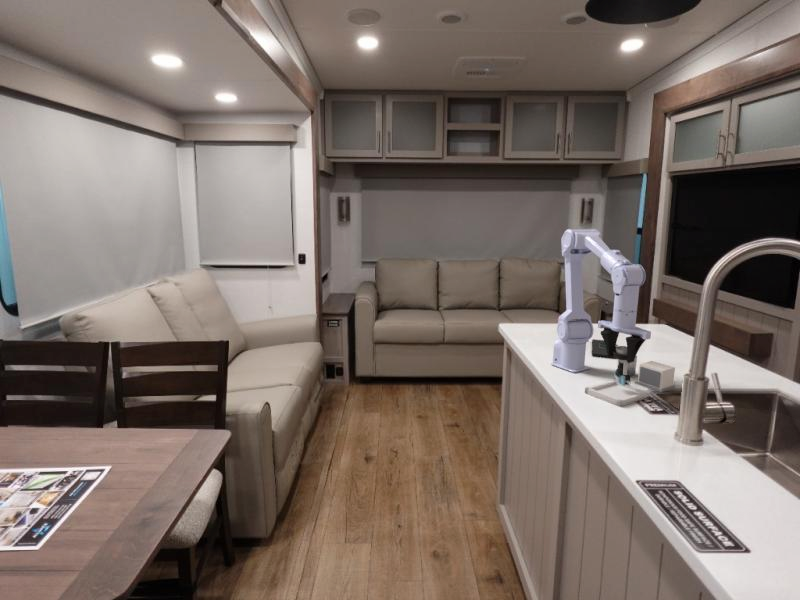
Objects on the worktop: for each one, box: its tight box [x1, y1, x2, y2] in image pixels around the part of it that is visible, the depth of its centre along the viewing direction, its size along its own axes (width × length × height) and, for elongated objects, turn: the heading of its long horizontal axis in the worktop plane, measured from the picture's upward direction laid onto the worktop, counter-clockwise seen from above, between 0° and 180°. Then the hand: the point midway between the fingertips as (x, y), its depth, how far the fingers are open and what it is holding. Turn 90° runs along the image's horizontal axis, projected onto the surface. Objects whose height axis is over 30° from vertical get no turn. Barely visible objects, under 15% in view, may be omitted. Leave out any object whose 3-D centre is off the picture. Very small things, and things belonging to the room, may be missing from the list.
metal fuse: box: [628, 355, 638, 378], centre depth 152 cm, size 4×4×7 cm
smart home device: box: [591, 338, 617, 360], centre depth 178 cm, size 8×2×20 cm
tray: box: [584, 379, 651, 407], centre depth 135 cm, size 11×13×2 cm
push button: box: [613, 345, 632, 387], centre depth 134 cm, size 7×5×10 cm
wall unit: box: [634, 360, 676, 393], centre depth 142 cm, size 8×7×6 cm
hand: (620, 358), depth 133 cm, fingers closed on push button, 5 cm apart
